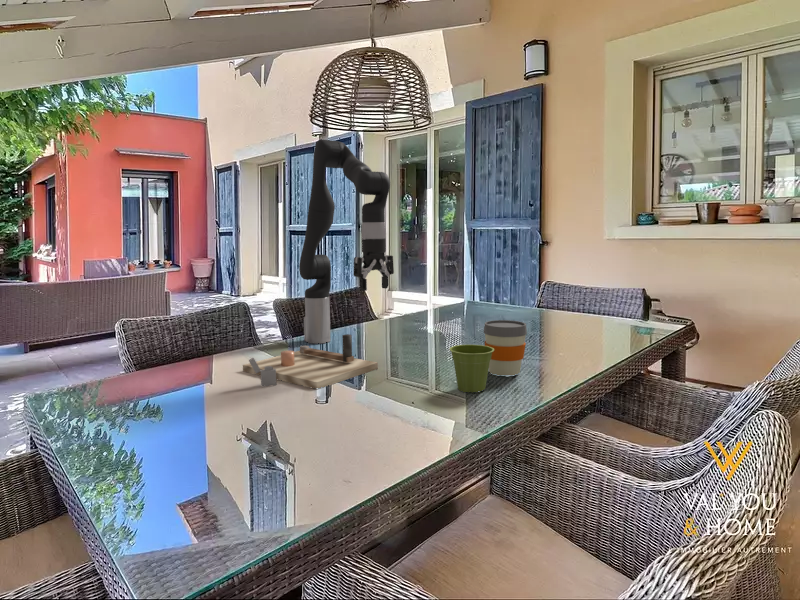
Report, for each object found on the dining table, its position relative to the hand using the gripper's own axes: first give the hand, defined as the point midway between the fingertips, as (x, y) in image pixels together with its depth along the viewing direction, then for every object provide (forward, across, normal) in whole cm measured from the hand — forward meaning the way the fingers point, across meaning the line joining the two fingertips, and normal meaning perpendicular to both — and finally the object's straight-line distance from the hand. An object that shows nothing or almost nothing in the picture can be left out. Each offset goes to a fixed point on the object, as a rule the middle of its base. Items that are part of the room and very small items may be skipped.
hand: (374, 289), depth 168 cm
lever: (+21, +12, -10) cm, 27 cm away
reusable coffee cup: (+24, -21, +35) cm, 47 cm away
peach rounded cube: (+22, +25, -12) cm, 35 cm away
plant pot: (+24, -2, +39) cm, 46 cm away
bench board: (+24, +19, -8) cm, 32 cm away
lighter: (+24, +37, -4) cm, 45 cm away
